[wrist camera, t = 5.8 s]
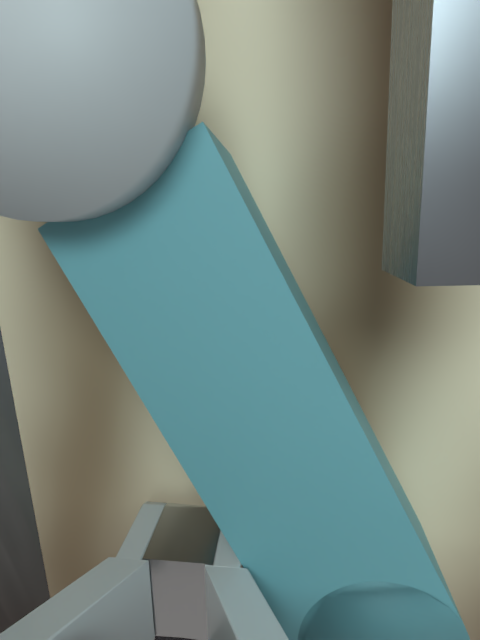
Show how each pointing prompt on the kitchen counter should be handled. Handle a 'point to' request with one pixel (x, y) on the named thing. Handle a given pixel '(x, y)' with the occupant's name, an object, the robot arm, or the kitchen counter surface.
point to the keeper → (433, 144)
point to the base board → (311, 276)
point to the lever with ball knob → (208, 314)
